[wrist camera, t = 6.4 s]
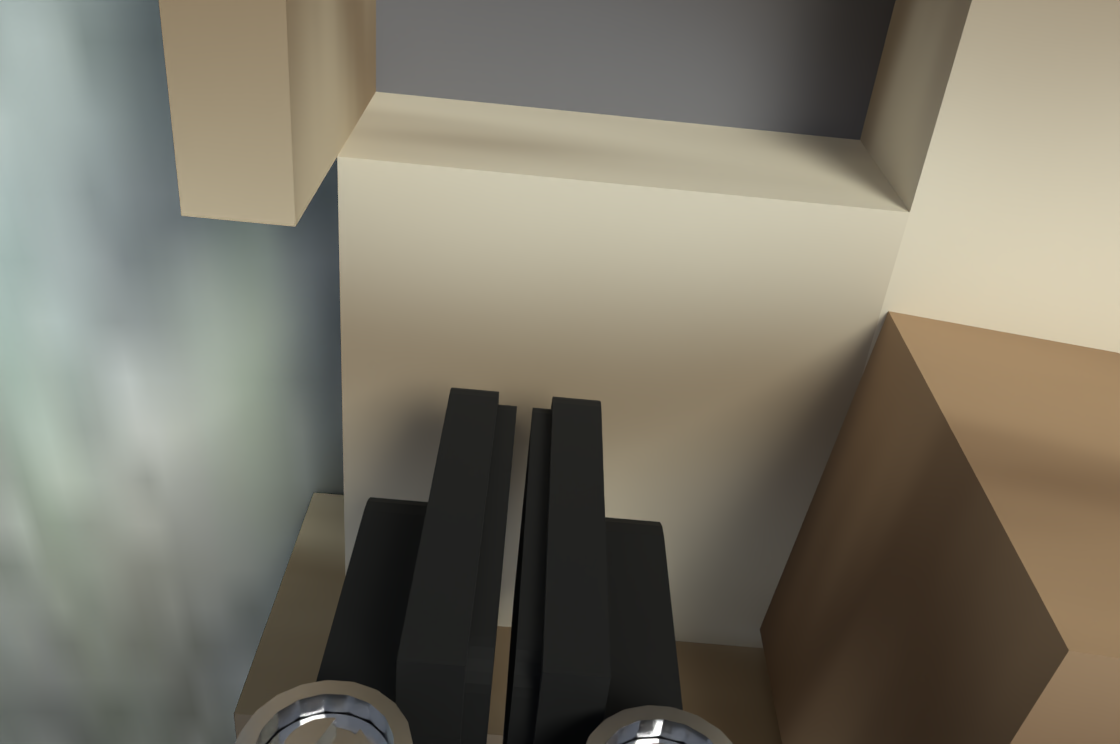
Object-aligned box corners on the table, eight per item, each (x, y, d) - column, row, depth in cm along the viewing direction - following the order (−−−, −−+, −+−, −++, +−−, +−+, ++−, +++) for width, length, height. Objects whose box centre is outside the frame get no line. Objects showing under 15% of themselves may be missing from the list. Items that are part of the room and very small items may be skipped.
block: (1105, 682, 14) (1323, 1078, 10) (759, 628, 14) (836, 1018, 10) (1304, 386, 12) (1709, 750, 8) (887, 310, 11) (1068, 650, 7)
